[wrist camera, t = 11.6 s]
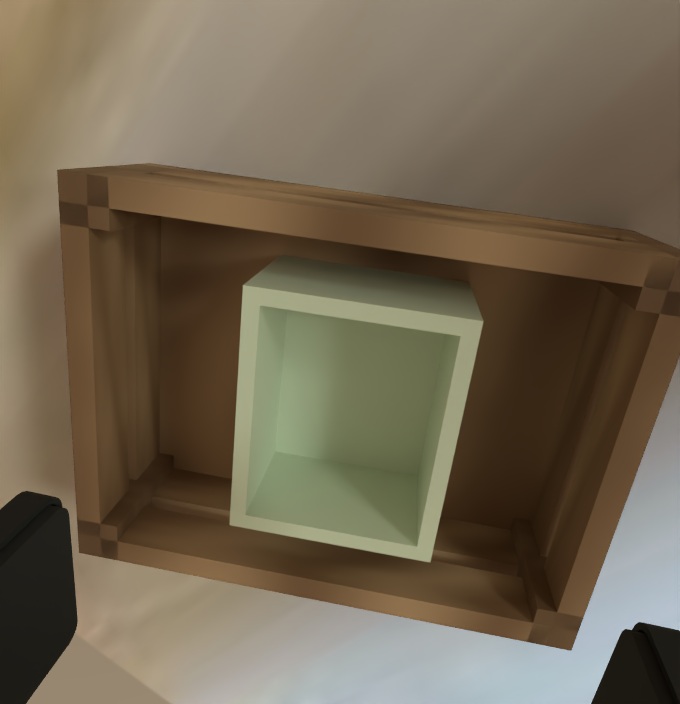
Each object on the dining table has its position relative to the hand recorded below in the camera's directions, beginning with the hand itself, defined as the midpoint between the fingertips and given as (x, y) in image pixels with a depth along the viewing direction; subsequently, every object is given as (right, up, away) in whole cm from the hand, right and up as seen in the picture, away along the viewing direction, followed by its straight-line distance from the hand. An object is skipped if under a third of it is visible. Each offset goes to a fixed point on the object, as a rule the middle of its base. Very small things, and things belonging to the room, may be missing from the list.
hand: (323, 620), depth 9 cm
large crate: (+1, +4, +12) cm, 13 cm away
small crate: (+1, +4, +11) cm, 12 cm away
